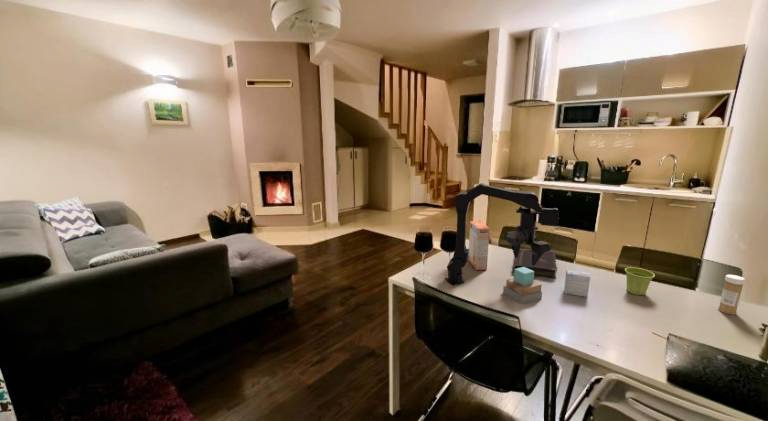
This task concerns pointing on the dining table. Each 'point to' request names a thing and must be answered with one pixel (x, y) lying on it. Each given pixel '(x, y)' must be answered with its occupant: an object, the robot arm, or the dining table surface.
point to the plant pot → (638, 280)
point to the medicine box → (577, 283)
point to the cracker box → (478, 245)
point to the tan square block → (523, 287)
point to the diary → (542, 267)
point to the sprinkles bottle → (731, 294)
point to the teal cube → (523, 276)
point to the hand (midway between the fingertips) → (524, 261)
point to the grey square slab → (521, 298)
